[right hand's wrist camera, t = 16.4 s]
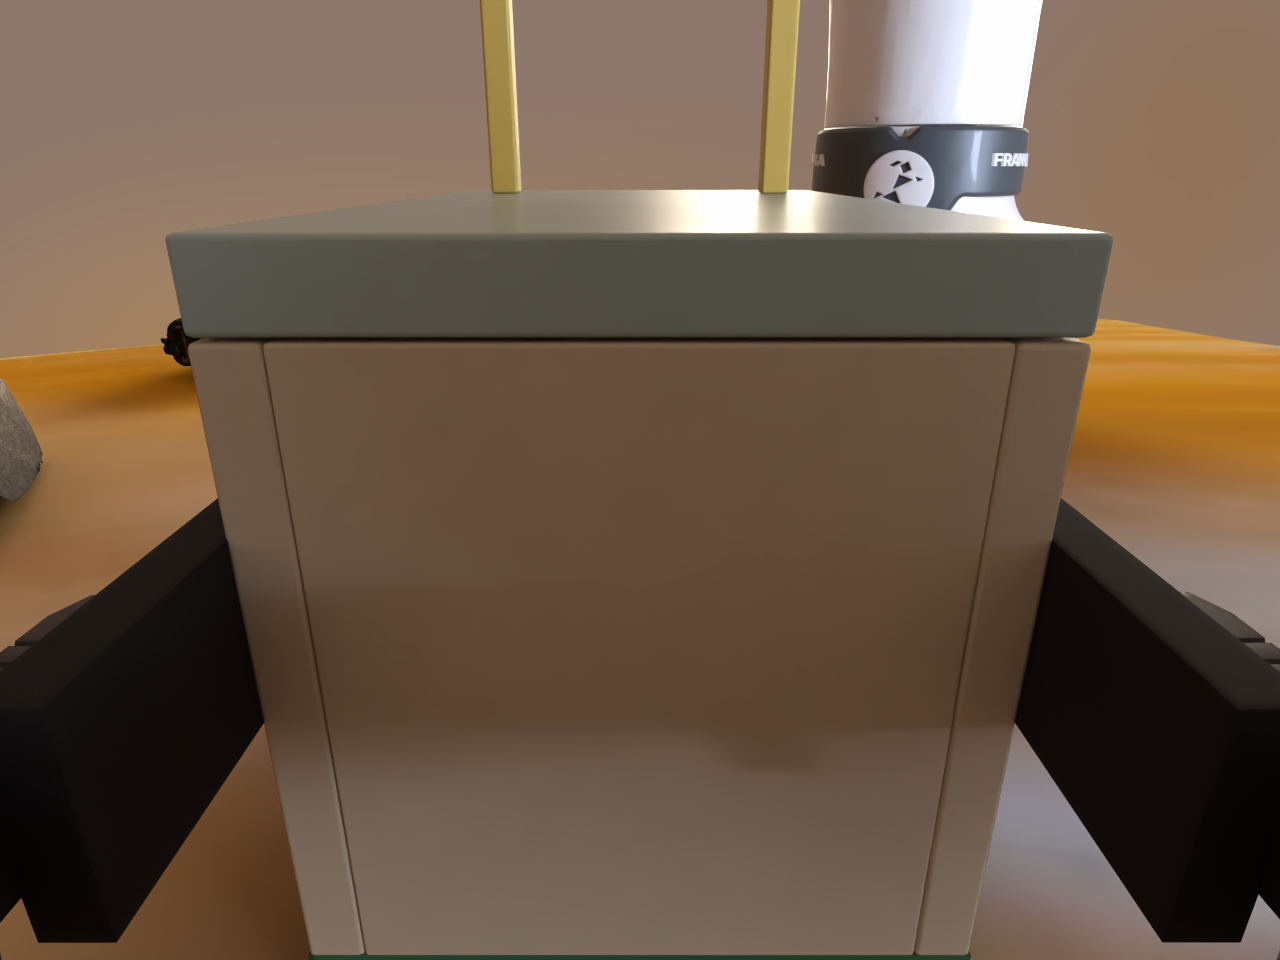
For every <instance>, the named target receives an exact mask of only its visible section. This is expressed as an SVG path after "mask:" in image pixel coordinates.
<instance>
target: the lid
mask: <svg viewBox="0 0 1280 960" xmlns="http://www.w3.org/2000/svg"><path fill="white" fill-rule="evenodd" d="M799 7H800V0H768V4H767V24H766V45H765V65H764V84H763V105H762V125H761V145H760V165H759V185H758V190H521V173H520V154H519V134H518V113H517V93H516V73H515V54H514V33H513V13H512V0H480V13H481V28H482V44H483V61H484V77H485V92H486V109H487V125H488V141H489V157H490V172H491V189H492V190H471V191H464V192H457V193H450V194H443V195H436V196H429V197H422V198H414V199H407V200H400V201H393V202H386V203H380V204H372V205H365V206H358V207H351V208H344V209H337V210H330V211H323V212H316V213H309V214H302V215H295V216H287V217H281V218H274V219H266V220H259V221H252V222H245V223H238V224H231V225H224V226H217V227H210V228H203V229H196V230H189V231H182V232H175V233H171V234H169V235H167V236H166V245H167V250H168V255H169V260H170V265H171V269H172V274H173V279H174V284H175V289H176V294H177V299H178V304H179V309H180V314H181V319H182V324H183V328H184V332H185V334H186V335H187V336H190V337H193V338H1085V337H1088V336H1091V335H1093V333H1094V331H1095V327H1096V322H1097V317H1098V312H1099V307H1100V302H1101V297H1102V292H1103V287H1104V282H1105V277H1106V273H1107V268H1108V263H1109V258H1110V253H1111V248H1112V243H1113V239H1112V236H1111V235H1110V234H1107V233H1104V232H1097V231H1090V230H1083V229H1076V228H1069V227H1062V226H1055V225H1048V224H1041V223H1034V222H1027V221H1020V220H1013V219H1006V218H999V217H992V216H985V215H978V214H971V213H964V212H957V211H950V210H943V209H936V208H929V207H922V206H914V205H907V204H900V203H893V202H886V201H879V200H872V199H865V198H858V197H851V196H844V195H837V194H830V193H823V192H816V191H809V190H788V184H789V168H790V152H791V136H792V120H793V104H794V88H795V72H796V55H797V40H798V24H799Z"/></svg>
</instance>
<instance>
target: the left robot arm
mask: <svg viewBox="0 0 1280 960" xmlns="http://www.w3.org/2000/svg"><path fill="white" fill-rule="evenodd" d="M1041 5H1042V0H830V23H829V62H828V83H827V101H826V115H825V128H824V129H825V130H822V131H820V132H819V133H818V134H817V141H816V149H815V155H813V161H812V166H814V169H813V182H812V190H813V191H816V192H823V193H830V194H837V195H844V196H851V197H858V198H865V199H872V200H879V201H886V202H893V203H900V204H907V205H914V206H922V207H929V208H936V209H943V210H950V211H957V212H964V213H971V214H978V215H985V216H992V217H999V218H1006V219H1013V220H1020V221H1024V220H1023V219H1022V217H1021V216H1020V214H1019V212H1018V210H1017V207H1016V204H1015V200H1014V195H1017V194H1018V193H1020V192H1021V189H1022V182H1023V176H1024V169H1025V166H1027V162H1028V154H1027V146H1028V138H1029V132H1028V130H1027V129H1026V128H1020V127H1022V126H1023V119H1024V113H1025V106H1026V100H1027V93H1028V87H1029V80H1030V74H1031V67H1032V61H1033V55H1034V49H1035V42H1036V36H1037V30H1038V24H1039V17H1040V11H1041Z"/></svg>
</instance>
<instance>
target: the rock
mask: <svg viewBox="0 0 1280 960" xmlns="http://www.w3.org/2000/svg"><path fill="white" fill-rule="evenodd" d="M40 450H41V448H40V445H39V443H38V441H37V439H36V436H35V434H34V432H33V430H32V428H31V426H30V424H29V422H28V421H27V419H26V417H25V416H24V414H23V412H22V410H21V409H20V407H19V405H18V403H17V402H16V400H15V398H14V396H13V394H12V392H11V390H10V389H9V388H8V386H7V385H6V384H5V383H4V381H3V380H2V379H1V378H0V496H2V497H4V498H6V499H9V500H11V501H13V500H18V499H20V496H22V495H23V494H24V493H26V490H28V489H29V488H30V486H31V482H32V481H34V478H35V476H36V474H37V473H38V472H37V470H38V471H40V467H39V466H40V461H41V458H42V452H41V451H40ZM39 459H40V461H39ZM41 463H42V461H41ZM22 493H23V494H22Z"/></svg>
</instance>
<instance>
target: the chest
mask: <svg viewBox="0 0 1280 960" xmlns="http://www.w3.org/2000/svg"><path fill="white" fill-rule="evenodd" d="M188 353H189V358H190V363H191V368H192V373H193V378H194V382H195V387H196V392H197V397H198V402H199V407H200V412H201V417H202V422H203V427H204V431H205V436H206V441H207V446H208V451H209V456H210V461H211V466H212V471H213V476H214V480H215V485H216V490H217V495H218V500H219V505H220V510H221V515H222V520H223V524H224V529H225V534H226V539H227V544H228V548H229V553H230V558H231V563H232V568H233V573H234V578H235V583H236V588H237V593H238V597H239V602H240V607H241V612H242V617H243V622H244V627H245V632H246V637H247V642H248V646H249V651H250V656H251V661H252V666H253V671H254V676H255V681H256V686H257V691H258V695H259V700H260V705H261V710H262V715H263V720H264V725H265V730H266V735H267V740H268V745H269V750H270V755H271V760H272V764H273V769H274V774H275V779H276V784H277V789H278V794H279V799H280V804H281V809H282V813H283V818H284V823H285V828H286V833H287V838H288V843H289V848H290V853H291V858H292V862H293V867H294V872H295V877H296V882H297V887H298V892H299V897H300V902H301V906H302V911H303V916H304V921H305V926H306V931H307V936H308V941H309V946H310V953H309V960H970V956H971V955H970V953H969V946H970V941H971V936H972V931H973V926H974V921H975V916H976V911H977V906H978V901H979V897H980V892H981V887H982V882H983V877H984V872H985V867H986V862H987V857H988V852H989V847H990V842H991V838H992V833H993V828H994V823H995V818H996V813H997V808H998V803H999V798H1000V793H1001V788H1002V783H1003V779H1004V774H1005V769H1006V764H1007V759H1008V754H1009V749H1010V744H1011V739H1012V734H1013V729H1014V724H1015V719H1016V715H1017V710H1018V705H1019V700H1020V695H1021V690H1022V685H1023V680H1024V675H1025V670H1026V665H1027V660H1028V656H1029V651H1030V646H1031V641H1032V636H1033V631H1034V626H1035V621H1036V616H1037V611H1038V606H1039V601H1040V597H1041V592H1042V587H1043V582H1044V577H1045V572H1046V567H1047V562H1048V557H1049V552H1050V547H1051V542H1052V538H1053V533H1054V528H1055V523H1056V518H1057V513H1058V508H1059V503H1060V498H1061V493H1062V488H1063V483H1064V479H1065V474H1066V469H1067V464H1068V459H1069V454H1070V449H1071V444H1072V439H1073V434H1074V429H1075V424H1076V420H1077V415H1078V410H1079V405H1080V400H1081V395H1082V390H1083V385H1084V380H1085V375H1086V370H1087V365H1088V361H1089V356H1090V345H1089V344H1087V343H1085V342H1083V341H1080V340H1078V339H1075V338H203V339H201V340H198V341H196V342H193V343H191V344H189V347H188Z"/></svg>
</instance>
